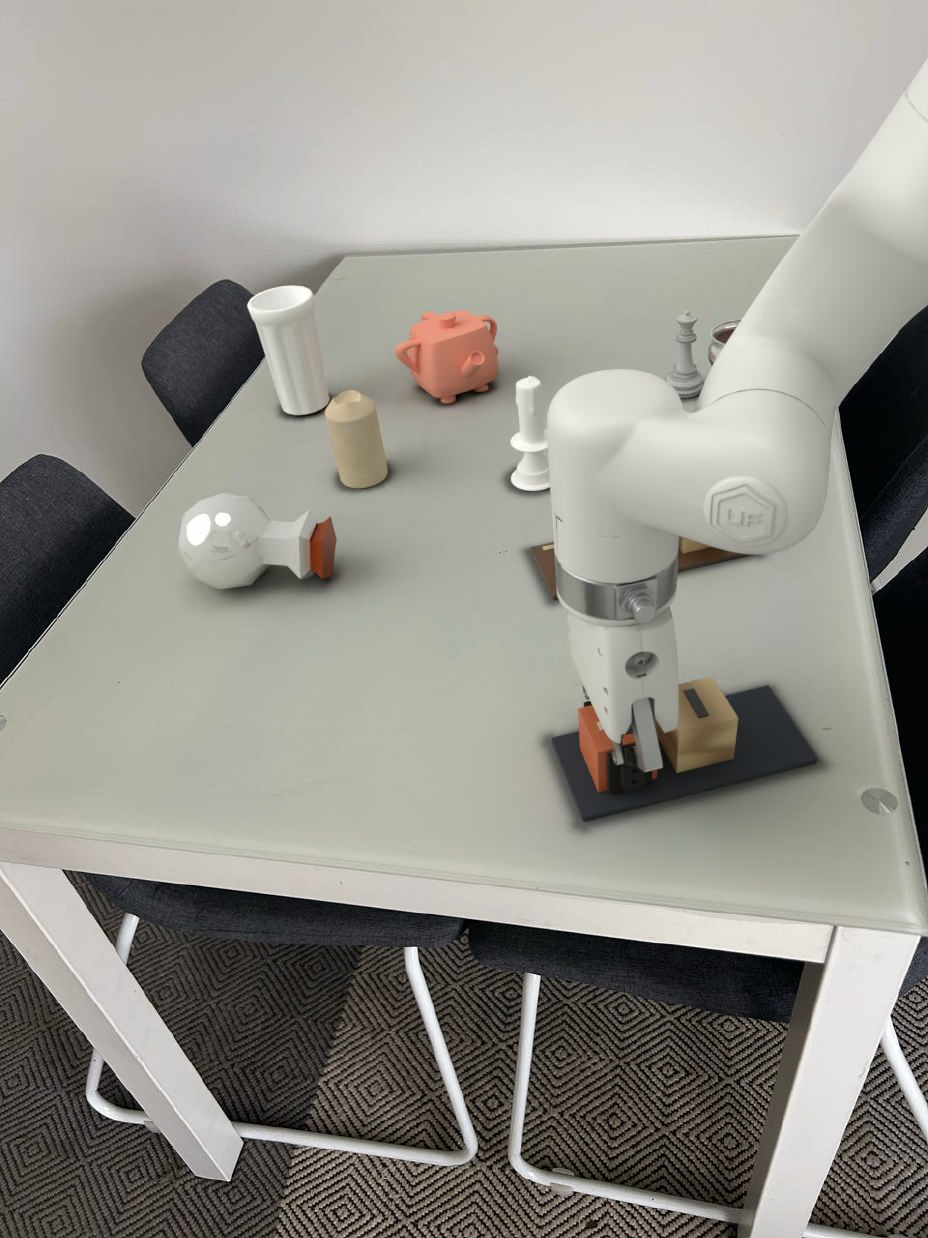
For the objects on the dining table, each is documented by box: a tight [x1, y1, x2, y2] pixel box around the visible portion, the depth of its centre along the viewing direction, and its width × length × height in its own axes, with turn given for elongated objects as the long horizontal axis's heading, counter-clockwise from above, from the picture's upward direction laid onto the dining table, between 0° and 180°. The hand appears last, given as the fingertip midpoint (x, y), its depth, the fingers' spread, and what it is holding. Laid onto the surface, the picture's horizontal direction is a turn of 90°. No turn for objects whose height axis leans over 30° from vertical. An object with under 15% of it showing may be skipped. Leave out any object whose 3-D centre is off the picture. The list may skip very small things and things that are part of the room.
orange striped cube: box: [577, 705, 658, 792], centre depth 69 cm, size 4×4×5 cm
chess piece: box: [665, 309, 704, 399], centre depth 110 cm, size 4×4×10 cm
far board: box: [529, 541, 753, 600], centre depth 90 cm, size 20×8×1 cm, turn 102°
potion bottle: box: [175, 492, 338, 590], centre depth 91 cm, size 9×10×15 cm
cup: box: [246, 284, 330, 416], centre depth 116 cm, size 8×8×14 cm
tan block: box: [655, 675, 738, 773], centre depth 69 cm, size 4×4×5 cm
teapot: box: [394, 309, 499, 404], centre depth 117 cm, size 12×12×10 cm
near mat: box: [551, 684, 819, 822], centre depth 71 cm, size 18×8×1 cm, turn 102°
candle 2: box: [510, 375, 550, 492], centre depth 98 cm, size 5×5×12 cm
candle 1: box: [324, 389, 389, 489], centre depth 103 cm, size 6×6×10 cm
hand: (617, 759), depth 70 cm, fingers closed on orange striped cube, 4 cm apart
